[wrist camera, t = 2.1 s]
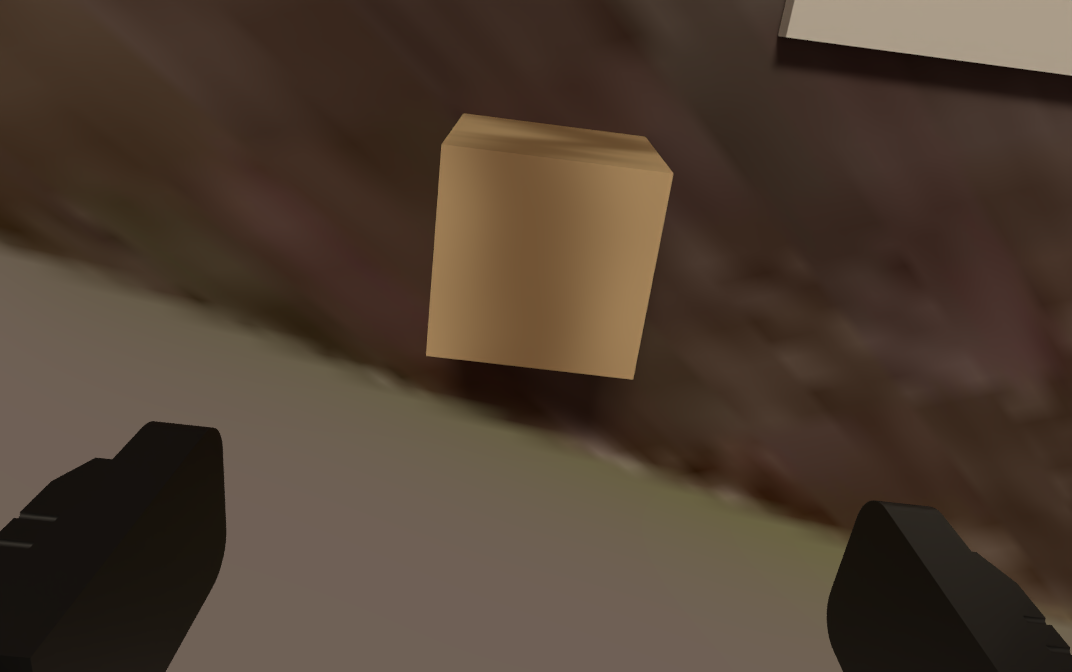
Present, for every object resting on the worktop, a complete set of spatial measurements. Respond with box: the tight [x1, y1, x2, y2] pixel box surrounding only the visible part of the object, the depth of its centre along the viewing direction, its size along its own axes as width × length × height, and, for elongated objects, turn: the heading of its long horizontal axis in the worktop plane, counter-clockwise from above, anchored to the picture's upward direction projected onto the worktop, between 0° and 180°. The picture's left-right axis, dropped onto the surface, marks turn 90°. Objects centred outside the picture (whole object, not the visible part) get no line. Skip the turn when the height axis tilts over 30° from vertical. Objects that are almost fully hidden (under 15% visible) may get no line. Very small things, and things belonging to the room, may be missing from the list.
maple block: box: [426, 114, 673, 380], centre depth 22 cm, size 6×6×6 cm
